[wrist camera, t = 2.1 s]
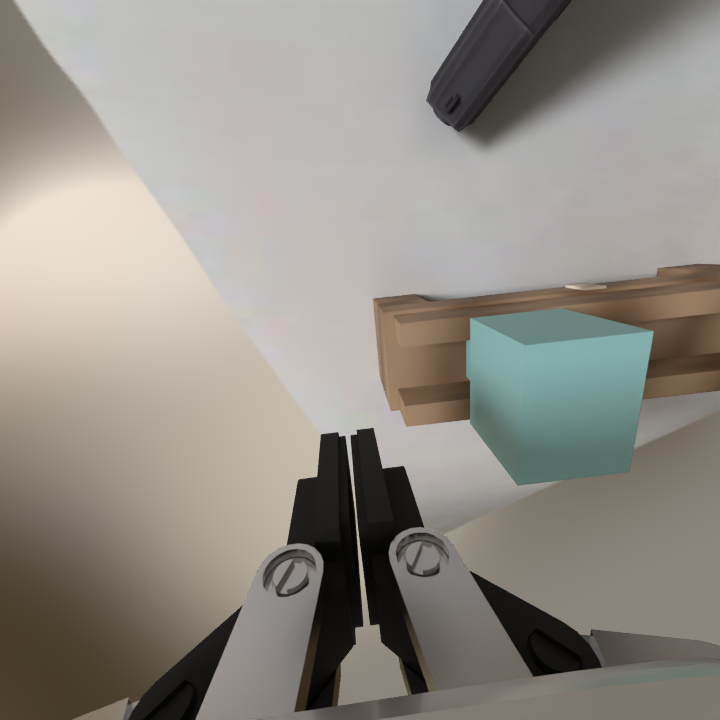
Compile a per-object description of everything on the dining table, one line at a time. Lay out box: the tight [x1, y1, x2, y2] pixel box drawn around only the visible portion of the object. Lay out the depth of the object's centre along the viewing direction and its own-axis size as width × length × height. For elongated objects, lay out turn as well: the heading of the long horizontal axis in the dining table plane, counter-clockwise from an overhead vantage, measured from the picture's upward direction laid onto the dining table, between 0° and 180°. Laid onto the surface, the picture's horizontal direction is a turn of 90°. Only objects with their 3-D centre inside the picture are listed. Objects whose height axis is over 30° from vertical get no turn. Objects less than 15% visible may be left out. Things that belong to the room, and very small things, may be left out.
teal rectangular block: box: [466, 308, 654, 485], centre depth 16 cm, size 4×6×8 cm
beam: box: [373, 264, 720, 427], centre depth 21 cm, size 24×6×8 cm, turn 96°
